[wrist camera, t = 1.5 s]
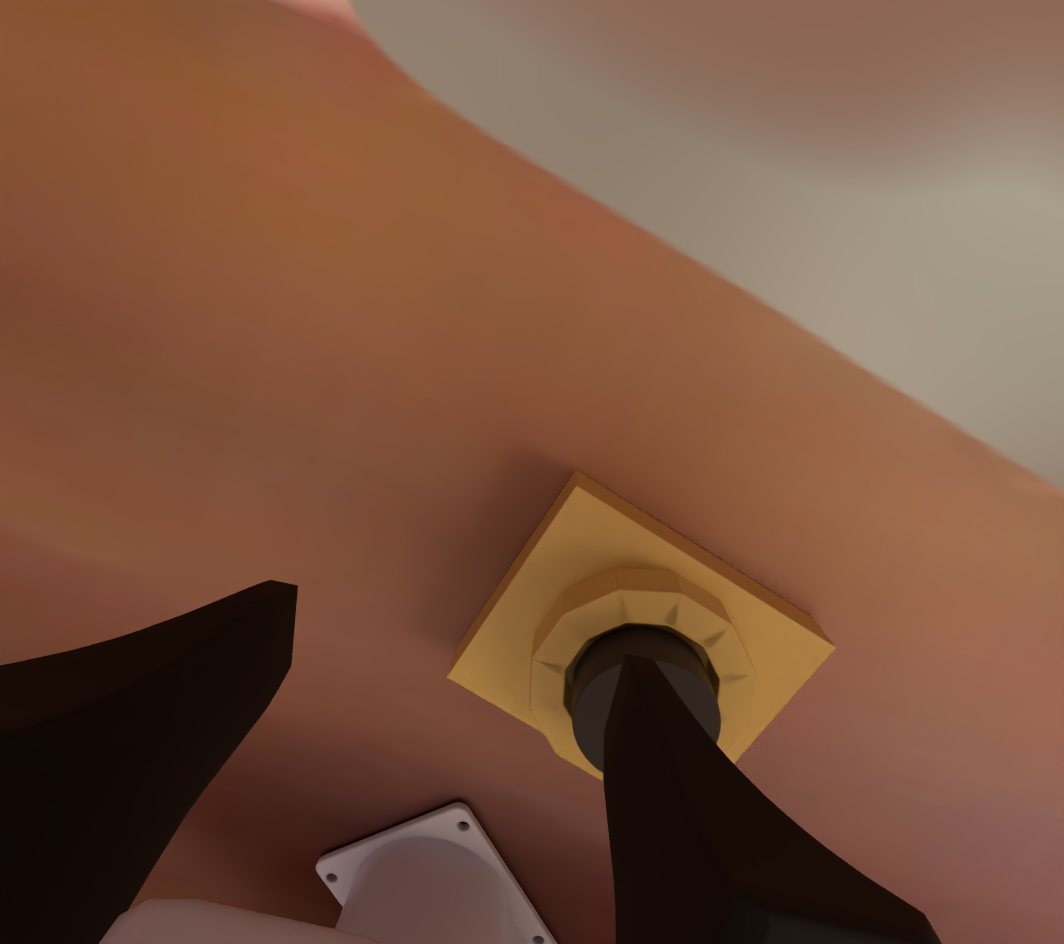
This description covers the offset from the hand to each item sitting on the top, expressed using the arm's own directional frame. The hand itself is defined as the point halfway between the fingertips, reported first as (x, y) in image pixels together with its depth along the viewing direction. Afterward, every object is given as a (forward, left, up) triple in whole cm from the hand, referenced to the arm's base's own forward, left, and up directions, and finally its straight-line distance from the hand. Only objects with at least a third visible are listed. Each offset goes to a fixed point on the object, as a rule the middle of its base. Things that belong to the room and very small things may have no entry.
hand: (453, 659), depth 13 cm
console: (-7, -2, -11) cm, 13 cm away
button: (-7, -2, -7) cm, 10 cm away
